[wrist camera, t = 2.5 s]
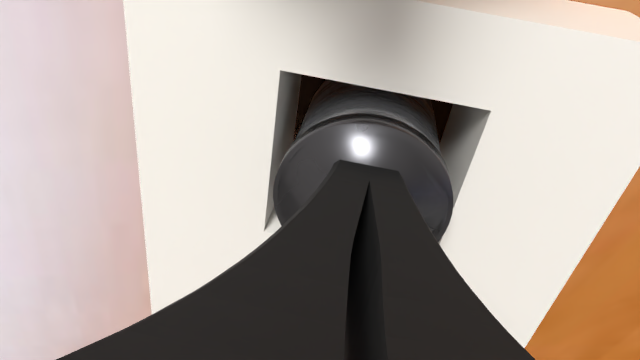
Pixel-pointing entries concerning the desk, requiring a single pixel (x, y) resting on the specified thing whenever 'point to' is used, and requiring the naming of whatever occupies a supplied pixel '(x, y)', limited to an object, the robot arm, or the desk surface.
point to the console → (401, 77)
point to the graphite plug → (367, 148)
